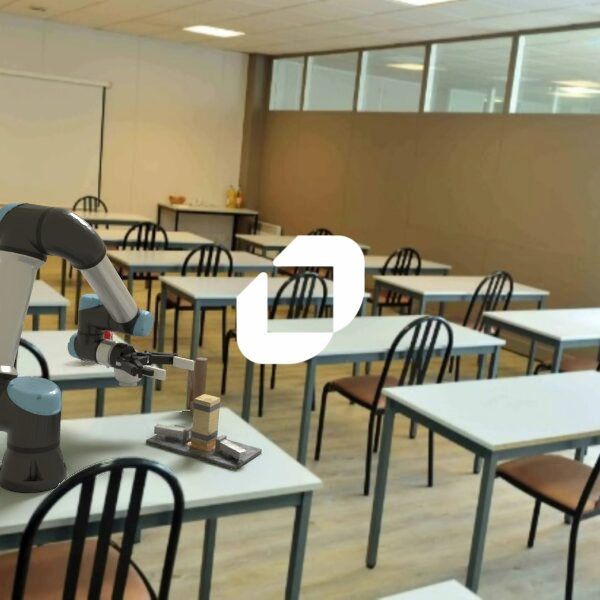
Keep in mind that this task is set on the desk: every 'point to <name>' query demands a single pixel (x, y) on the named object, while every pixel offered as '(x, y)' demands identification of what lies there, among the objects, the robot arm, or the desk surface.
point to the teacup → (127, 378)
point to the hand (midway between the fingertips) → (179, 370)
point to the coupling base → (218, 454)
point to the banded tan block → (205, 421)
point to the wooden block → (197, 381)
